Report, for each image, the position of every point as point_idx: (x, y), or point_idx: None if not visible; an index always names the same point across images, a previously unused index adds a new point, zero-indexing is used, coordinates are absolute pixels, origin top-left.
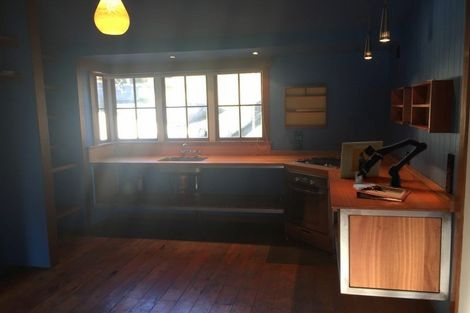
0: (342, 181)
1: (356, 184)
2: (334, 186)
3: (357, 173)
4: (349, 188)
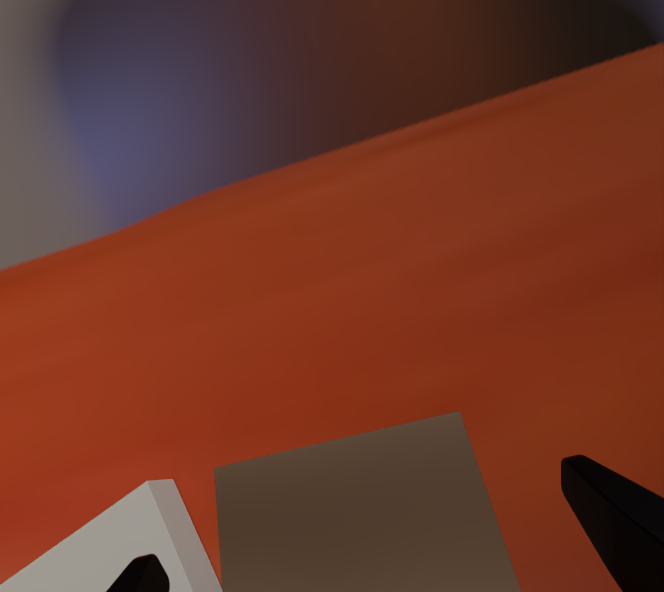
0: (586, 180)
1: (163, 538)
2: (185, 216)
3: (238, 578)
4: (70, 441)
